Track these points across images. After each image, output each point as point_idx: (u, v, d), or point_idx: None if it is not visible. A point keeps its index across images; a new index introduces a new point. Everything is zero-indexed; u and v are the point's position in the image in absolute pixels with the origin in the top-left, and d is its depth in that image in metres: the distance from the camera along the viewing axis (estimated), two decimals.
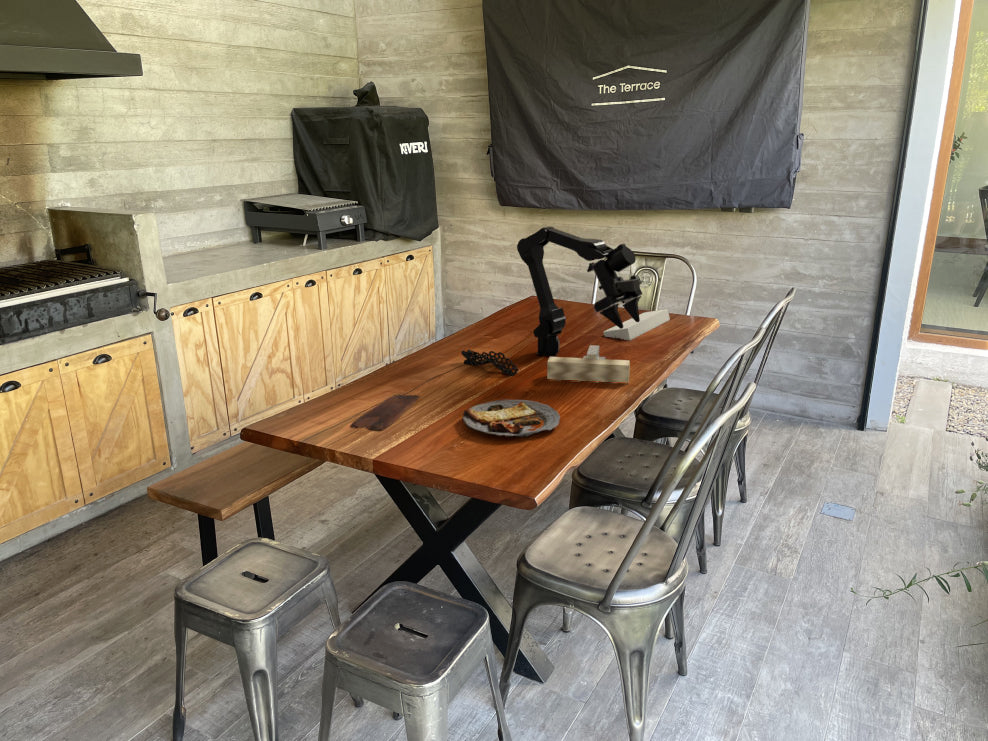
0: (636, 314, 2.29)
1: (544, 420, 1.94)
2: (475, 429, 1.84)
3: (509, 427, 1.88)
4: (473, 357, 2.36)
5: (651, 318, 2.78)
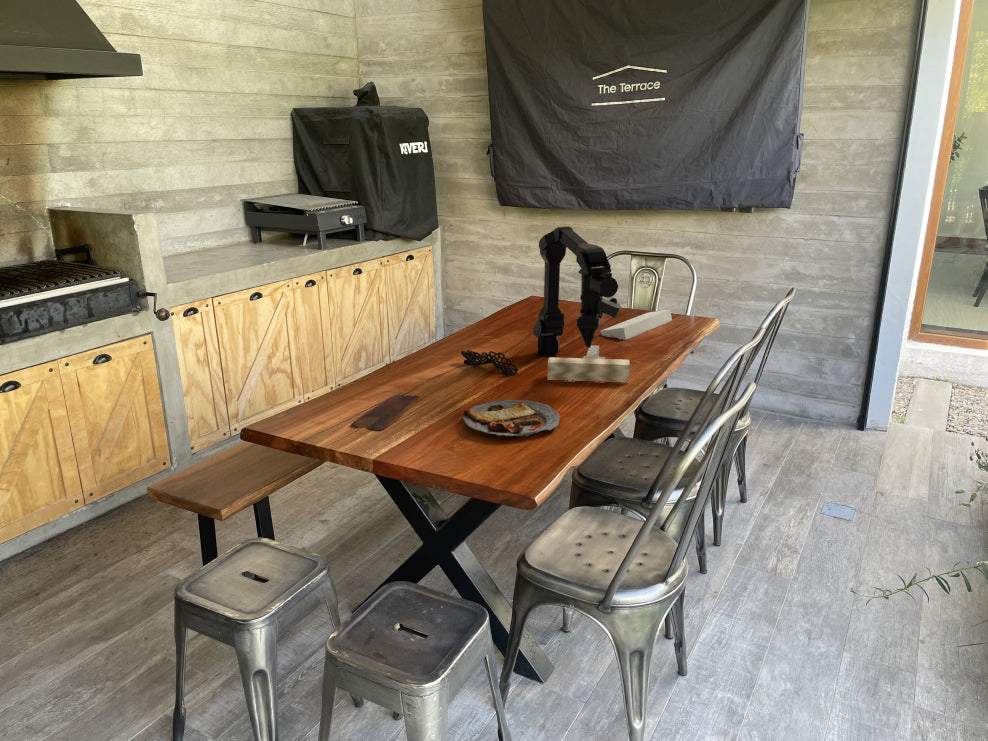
0: (593, 331, 2.25)
1: (544, 420, 1.94)
2: (475, 429, 1.85)
3: (509, 427, 1.88)
4: (473, 357, 2.36)
5: (651, 318, 2.78)
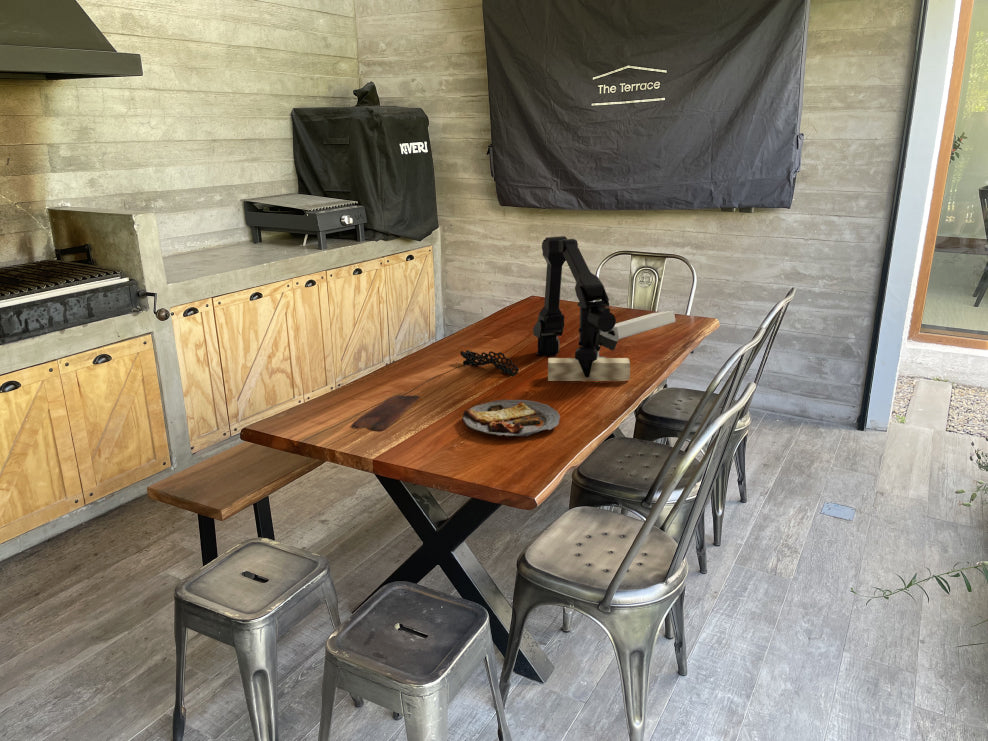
0: None
1: (544, 420, 1.94)
2: (475, 429, 1.85)
3: (509, 427, 1.88)
4: (473, 358, 2.36)
5: (650, 319, 2.77)
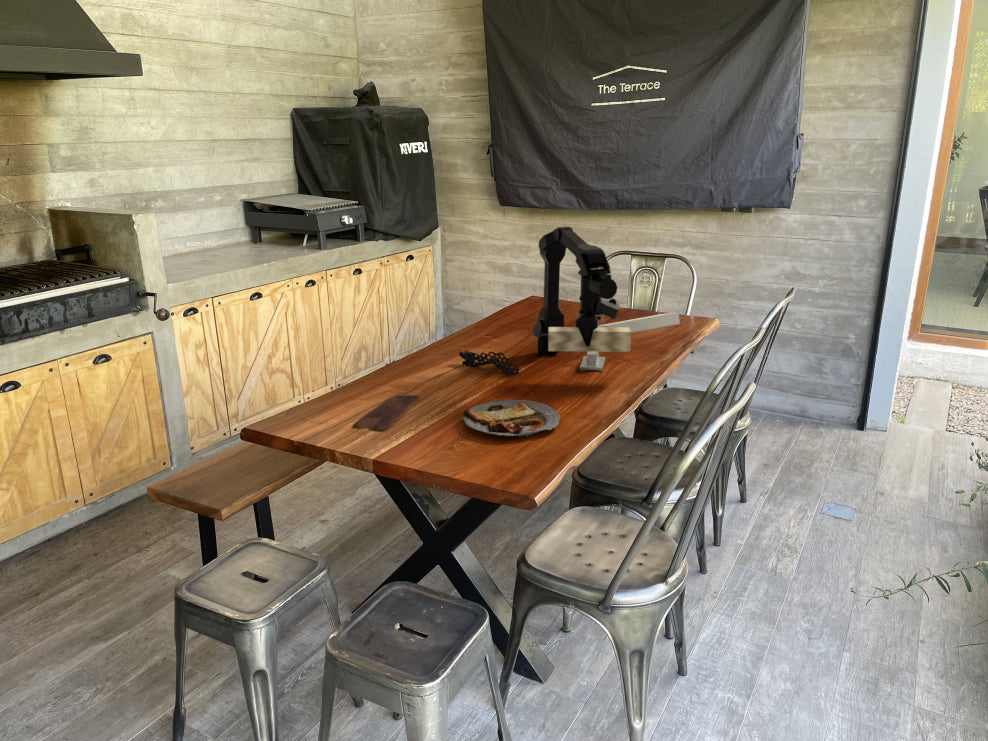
0: None
1: (544, 420, 1.94)
2: (475, 429, 1.85)
3: (509, 427, 1.88)
4: (473, 358, 2.35)
5: (648, 319, 2.76)
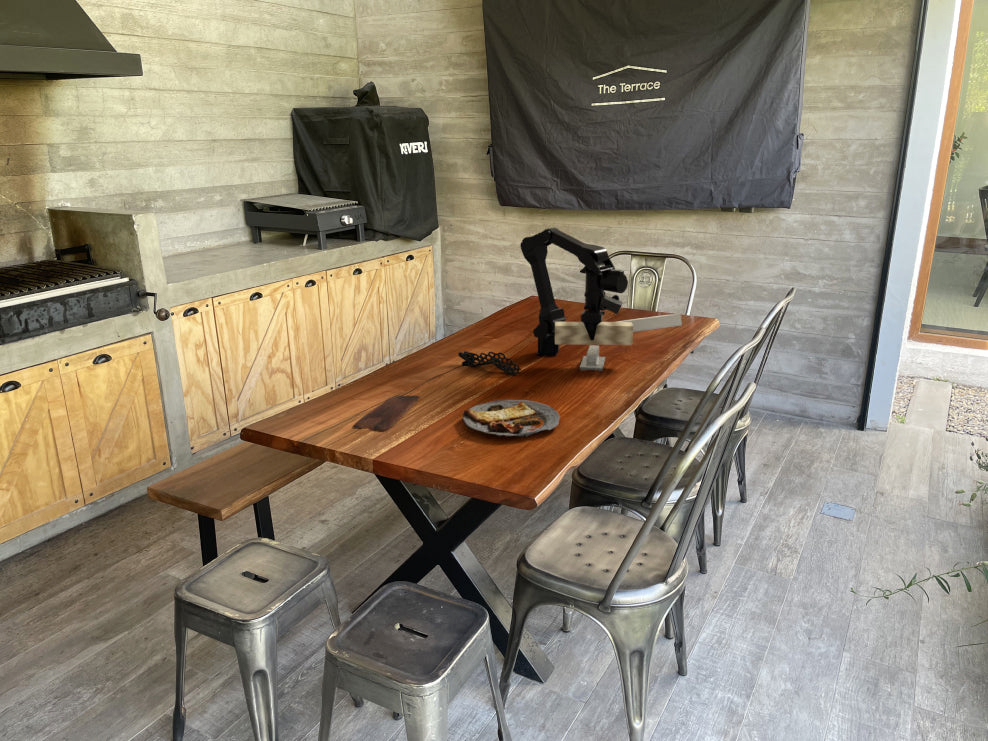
0: None
1: (544, 420, 1.94)
2: (475, 429, 1.85)
3: (509, 427, 1.88)
4: (473, 358, 2.35)
5: (647, 319, 2.76)
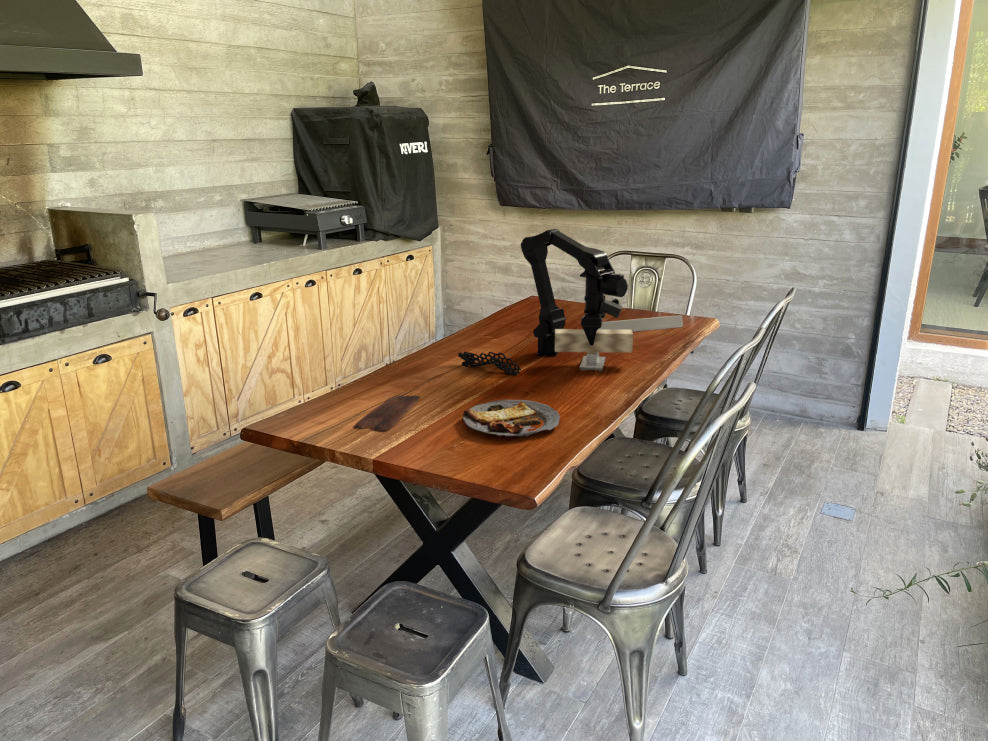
0: None
1: (544, 420, 1.94)
2: (475, 429, 1.85)
3: (509, 427, 1.88)
4: (473, 359, 2.35)
5: (646, 320, 2.76)
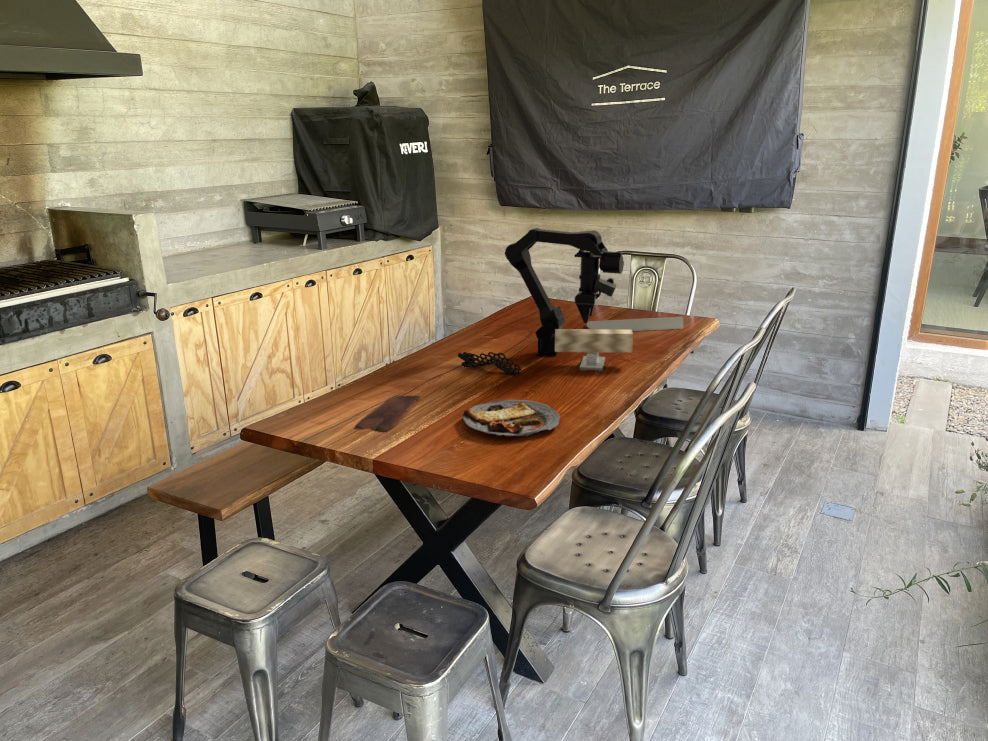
0: (591, 309, 2.45)
1: (544, 420, 1.94)
2: (475, 429, 1.85)
3: (509, 427, 1.88)
4: (473, 359, 2.35)
5: (644, 320, 2.76)
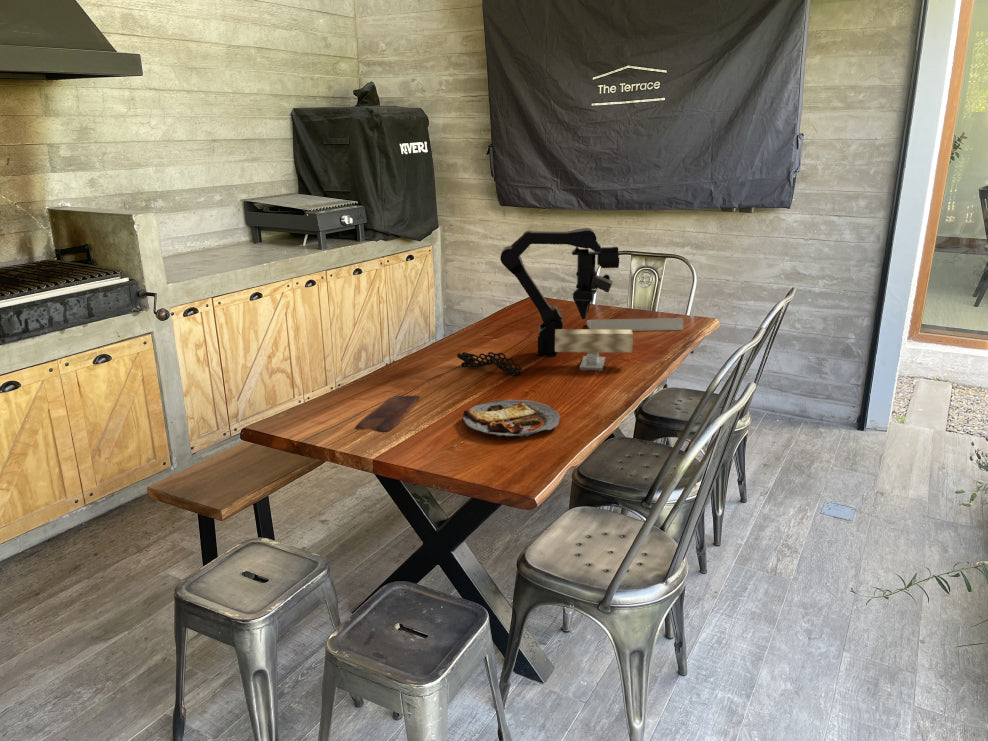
0: (588, 305, 2.49)
1: (544, 420, 1.94)
2: (475, 429, 1.85)
3: (509, 427, 1.88)
4: (473, 359, 2.34)
5: (642, 320, 2.76)
